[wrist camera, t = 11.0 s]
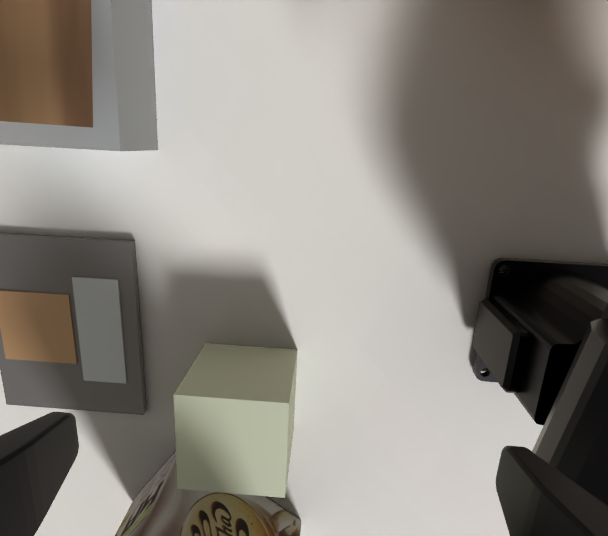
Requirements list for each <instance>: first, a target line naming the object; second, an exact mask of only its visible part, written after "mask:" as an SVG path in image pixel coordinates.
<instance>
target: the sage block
mask: <svg viewBox="0 0 608 536" xmlns="http://www.w3.org/2000/svg"><path fill="white" fill-rule="evenodd" d="M296 368H297V349H283V348H269V347H255V346H240V345H226V344H212V343H205V345H204V346H203V348H202V349H201V351H200V353H199V354H198V356H197V357H196V359H195V361H194V362H193V364H192V365H191V367H190V369H189V370H188V372H187V373H186V375H185V377H184V378H183V380H182V381H181V383H180V385H179V386H178V388H177V389H176V391H175V393H174V394H173V400H174V421H175V443H176V464H177V486H178V489H185V490H197V491H209V492H221V493H233V494H245V495H257V496H268V497H280V498H285V494H286V486H287V478H288V470H289V462H290V454H291V446H292V438H293V430H294V410H295V389H296Z"/></svg>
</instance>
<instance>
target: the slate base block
mask: <svg viewBox="0 0 608 536" xmlns="http://www.w3.org/2000/svg"><path fill="white" fill-rule="evenodd" d="M91 21H92V85H93V128H91V127H77V126H63V125H49V124H34V123H20V122H6V121H0V144H5V145H23V146H40V147H57V148H75V149H92V150H110V151H141V150H158V139H157V116H156V93H155V70H154V47H153V24H152V1H151V0H91Z"/></svg>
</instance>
